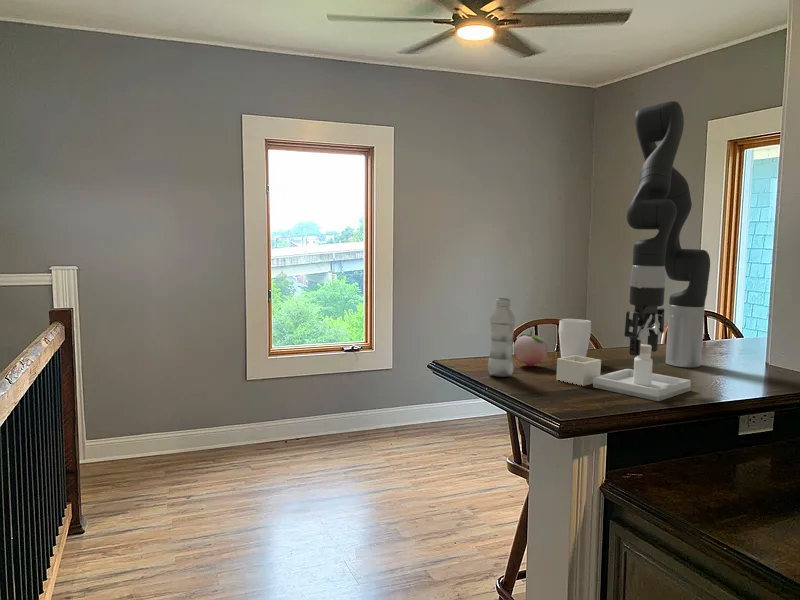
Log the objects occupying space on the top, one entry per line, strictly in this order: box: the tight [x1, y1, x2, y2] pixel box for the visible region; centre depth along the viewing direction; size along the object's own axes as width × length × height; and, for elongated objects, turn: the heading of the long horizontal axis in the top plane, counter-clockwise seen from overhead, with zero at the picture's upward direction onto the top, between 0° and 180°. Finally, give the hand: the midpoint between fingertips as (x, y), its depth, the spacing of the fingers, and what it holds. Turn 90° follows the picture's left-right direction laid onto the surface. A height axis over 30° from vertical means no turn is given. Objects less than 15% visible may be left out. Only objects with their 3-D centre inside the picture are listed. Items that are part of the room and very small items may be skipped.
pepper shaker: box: [633, 343, 654, 386], centre depth 142 cm, size 4×4×10 cm
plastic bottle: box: [487, 297, 517, 378], centre depth 153 cm, size 6×7×20 cm
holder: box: [555, 355, 602, 387], centre depth 150 cm, size 8×8×6 cm
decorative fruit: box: [513, 330, 549, 367], centre depth 166 cm, size 9×8×10 cm
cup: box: [558, 318, 592, 358], centre depth 175 cm, size 9×9×12 cm
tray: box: [592, 368, 692, 402], centre depth 143 cm, size 16×16×2 cm
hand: (643, 353), depth 142 cm, fingers open, 8 cm apart
